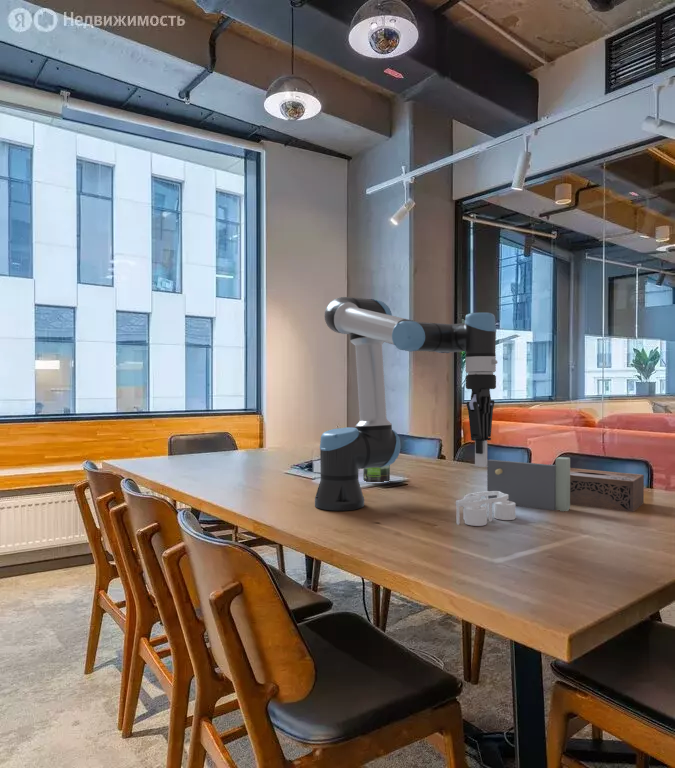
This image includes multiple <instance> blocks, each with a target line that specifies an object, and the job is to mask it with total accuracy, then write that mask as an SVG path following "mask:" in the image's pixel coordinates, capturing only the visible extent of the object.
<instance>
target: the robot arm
mask: <svg viewBox="0 0 675 768" xmlns="http://www.w3.org/2000/svg"><path fill="white" fill-rule="evenodd" d="M464 319H465V320H464V322H462V323H438V322H424V321H416V320H411V319H407V318H403V317H399V316H394V315H393V314H392V311H391V308H390V307H389V305H388V304H386V303H385V302H384V301H383V300H378V299H374V298H362V297H361V298H360V297H351V296H341V297H340V296H339V297H337V298H335V299H333V300H331V301H330V302H329V303H328V305H327V306H326V308H325V311H324V321H325V324H326V326H327V327H328V328H329V329H330V330H331V331H332V332H334V333H338V334H342V335H349V339H350V341H349V342H350V343H351V344H352V345H354V347H355V361H356V362H355V364H356V378H357V379H356V380H357V396H358V413H359V421H358V423H356V425H355V426H354V427H351V426H349V427H340V428H338V427H337V428H333V429H329V430H326V431H324V432H322V434H321V436H320V443H319V444H320V445H319V452H320V453H319V455H320V458H319V459H320V461H319V462H320V465H319V467H320V481H319V484H318V487H317V489H316V494H315V497H314V506H315V508H316V509H320V510H325V511H332V512H333V511H337V512H339V511H342V512H343V511H353V510H355V511H356V510H359V509H362V508H364V506H365V497H364V495H363V491H362V487H361V484H360V481H359V470H363V469H365V468H373V467H383V466H388V465H390V466H391V465H392V464H394V463H395V462H396V460H397V459H398V457H399V455H400V453H401V437H400V436H399V435H398V433H397V432H396V430H394V429H393V427H392V423H391V422H390V421H389V420H388V419H387V408H386V407H387V406H386V405H387V404H386V390H385V389H386V388H385V387H386V386H385V375H384V359H383V357H384V356H383V344H384V343H387V344H388V345H389V344H390V345H393V346H394V347H396V348H395V349H398V350H400V351H405V352H411V353H412V352H433V353H434V352H435V353H440V354H450V353H459V352H460V353H461V352H465V373H467V374H466V375H465V388H466V390H471V394H470V401H466V403H465V404H466V409H467V413H468V421H469V431H470V440H471V441H474V466H475V467H480V468H486V467H487V460H488V441H491V440H492V436H491V435H492V426H493V415H494V407H495V403H496V402H495V400H492V397H491V392H490V391H491V390H495V389H496V388H497V375H496V374H494V373H495V372H497V371H496V369H497V368H496V366H497V364H498V360H497V359H496V357H497V354H496V349H497V347H496V344H497V343H496V342H497V341H496V339H497V326H496V325H497V323H496V316H495V315H494V313H491V312H471V313H467V314H466V315H465V318H464Z"/></svg>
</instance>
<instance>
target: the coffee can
mask: <svg viewBox="0 0 675 768" xmlns="http://www.w3.org/2000/svg"><path fill="white" fill-rule="evenodd" d="M362 470H363V471H362V473H363V475H362V479H363V480H364V481H366V482H384V481H389V480H390V481H391V478H390V477H391V465H388V466H383V467H373V468H365V469H362ZM363 480H362V481H363Z"/></svg>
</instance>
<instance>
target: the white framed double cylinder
mask: <svg viewBox="0 0 675 768" xmlns="http://www.w3.org/2000/svg"><path fill="white" fill-rule="evenodd" d="M492 495H497V498H490V499H488V496H492ZM481 497H484V498H483V499H481ZM507 499H508V494H504V493H502V492H500V491H487V490H485V491H484V490H483V491H478V492H472V493H467V494H465V495H464V496H462V498H461V499H456V500H455V507H456V525H457V526H458V525H459V526H460V525H461V523H460V521H461V520H460V519H461V517H460V514H461V513H460V510H461V507H462V509H463V510H462V511H463V513H462V514H463V515H462V517H463V518H462V520H463V521H464V524H465V525H468V526H472V527H473V526H475V527H483V526H486V525H487V523H488V522H487V521H489V522H492V521H493V518H495V519H497V520H503V521H511V520H515V519H516V505H515V502H512V501H509V500H507ZM483 505H484V506H483ZM487 517H488V518H487ZM487 519H488V520H487Z"/></svg>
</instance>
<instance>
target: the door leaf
mask: <svg viewBox="0 0 675 768" xmlns="http://www.w3.org/2000/svg"><path fill="white" fill-rule="evenodd" d="M486 467H487V469H486V470H487V475H486V478H487V481H486V482H487V483H486V487H487V488H486V489H487V490H486V491H500V492H502V493H504V494H508V499H507V500H509V501H512V502H515V507H516V506H518V507H524V508H532V509H540V510H549V511H557V510H560V511H559V512H564V511H567V512H568V511H570V510H571V504H570V468H571V457H565V456H559V457H557V458H555V464H549V463H548V464H546V463H536V462H523V461H511V460H499V459H487V466H486ZM490 498H497V495H492V496H488V499H490ZM569 509H570V510H569Z"/></svg>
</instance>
